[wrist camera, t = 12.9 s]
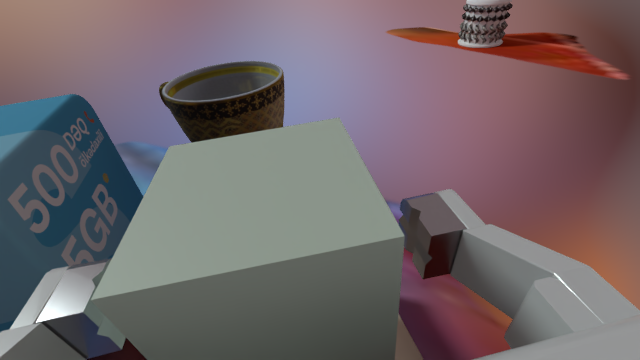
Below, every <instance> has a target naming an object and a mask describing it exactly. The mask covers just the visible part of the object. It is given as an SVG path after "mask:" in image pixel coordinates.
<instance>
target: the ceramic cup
mask: <svg viewBox="0 0 640 360" xmlns="http://www.w3.org/2000/svg"><path fill="white" fill-rule="evenodd" d="M159 93H160V96H161V99H162V101H163V102H164V104H165V105H166V106H167V107H168V108H169V109H170V111H171V112H172V114H173V116H174V117H175V119H176V120H177V122H178V124H179V125H180V126H181V128H182V130H183V131H184V133H185V134H186V136H187V137H188V138H189V140H190V141H191V142H192V143H193V142H199V141H205V140H210V139H216V138H222V137H228V136H234V135H240V134H246V133H252V132H257V131H263V130H269V129H275V128H281V127H283V117H284V76H283V70H282V69H281V68H280V67H279V66H277V65H275V64H272V63H267V62H259V61H258V62H257V61H243V62H231V63H224V64H218V65H213V66H208V67H204V68H201V69H197V70H194V71H191V72H188V73H185V74H183V75H181V76H179V77H177V78H175V79H173V80H171V81H170V82H165V83H163V84H162V85H161V86H160V88H159Z"/></svg>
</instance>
